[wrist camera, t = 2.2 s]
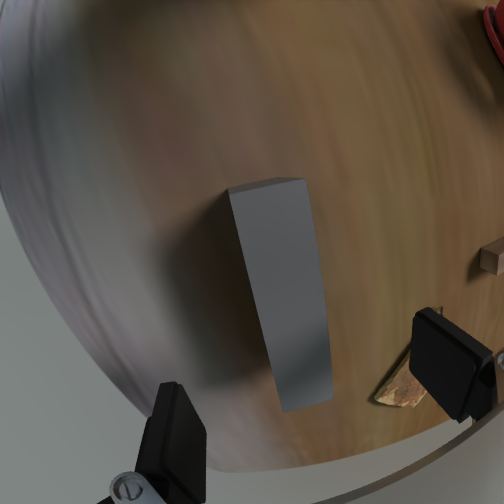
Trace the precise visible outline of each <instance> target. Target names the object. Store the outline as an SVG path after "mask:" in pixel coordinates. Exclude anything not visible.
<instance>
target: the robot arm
mask: <svg viewBox="0 0 504 504" xmlns="http://www.w3.org/2000/svg"><path fill="white" fill-rule="evenodd" d="M492 354H493V352H492V351H491V350H489V349H488V348H487V347H485V346H484V345H483V344H481V343H480V342H479V341H477V340H476V339H474V338H473V337H472V336H470V335H469V334H467V333H466V332H465V331H463V330H462V329H460V328H459V327H458V326H456V325H455V324H453V323H452V322H450V321H449V320H448V319H446V318H445V317H443V316H442V315H440V314H439V313H437V312H436V311H434V310H433V309H431V308H430V307H426V308H424V309H422V310H420V311H417V312H416V314H415V317H414V318H413V324H412V338H411V349H410V359H409V370H410V372H411V374H412V375H413V376H414V377H415V378H416V379H417V380H418V381H419V383H420V384H421V385H422V386H423V387H424V388H425V389H426V390H427V391H428V393H429V394H430V395H431V396H432V397H433V398H434V399H435V400H436V402H437V403H438V404H439V405H440V406H441V407H442V408H443V409H444V411H445V412H446V413H447V414H448V415H449V416H450V418H452V419H453V420H455V419H456V420H457V421H458V422H459V424H460V423H461V422H463V421H464V420H465V419H467V418H468V417H469V415H470V416H471V417H472V426H471V427H470V428H468V429H467V430H466V431H464V432H462V433H461V434H460V435H458V436H457V437H455V438H454V439H453V440H451V441H449V442H448V443H447V444H445V445H443V446H442V447H440V448H439V449H437V450H435V451H434V452H432V453H430V454H429V455H427V456H425V457H424V458H422V459H420V460H418V461H416V462H415V463H413V464H411V465H409V466H407V467H405V468H403V469H401V470H399V471H397V472H395V473H393V474H392V475H389V476H387V477H385V478H382V479H380V480H378V481H376V482H373V483H371V484H369V485H366V486H364V487H361V488H359V489H356V490H353V491H351V492H348V493H345V494H342V495H339V496H336V497H333V498H330V499H327V500H324V501H320V502H317V503H313V504H504V350H502V351H500V352H499V353H498V354H496V356H495V358H494V357H492ZM206 439H207V434H206V429H205V427H204V425H203V423H202V421H201V420H200V418H199V416H198V414H197V412H196V411H195V409H194V407H193V405H192V403H191V401H190V399H189V397H188V395H187V394H186V392H185V390H184V388H183V386H182V385H181V384H177V383H176V382H175V381H173V382H166V383H161V384H160V386H159V390H158V394H157V397H156V401H155V405H154V409H153V413H152V417H149V418H148V419H147V422H146V426H145V429H144V433H143V437H142V441H141V445H140V449H139V454H138V458H137V462H136V466H135V471H134V472H131V471H130V472H124V473H121V474H119V475H118V476H116V477H115V478H114V479H113V480H112V482H111V484H110V487H109V492H110V496H109V497H107V498H106V499H104V500H102V501H100V502H99V503H97V504H202V503H205V501H206Z"/></svg>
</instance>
